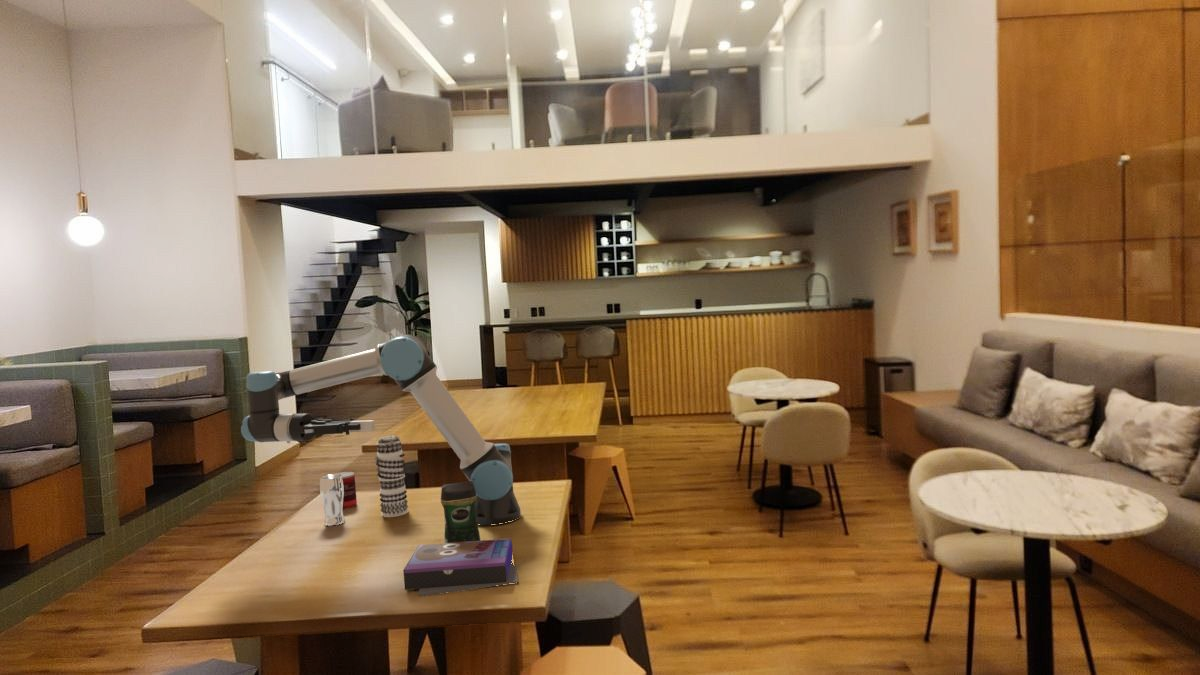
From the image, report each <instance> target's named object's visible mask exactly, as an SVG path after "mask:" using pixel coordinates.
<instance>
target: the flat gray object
mask: <svg viewBox="0 0 1200 675" xmlns="http://www.w3.org/2000/svg"><path fill="white" fill-rule="evenodd" d="M515 562H516V561H515ZM515 562H514V563H515ZM511 563H512V561H511ZM515 564H516V563H515ZM516 582H518V583H519V578H518V573H517V567H516V565H515V566H514V565H513V563H512V564H510V568H509V572H508V577H507V581H506V582H501V583H488V584H474V585H461V586H448V587H435V588H421V589H418V593H417V594H418V597H419V596H421V597H427V596H426V595H429V596H434V595H433V594H437V595H441V594H440V593H444V594H447V593H446V592H452V593H455V592H454V591H460V592H463V591H462V590H467V591H472V590H471V589H475V590H480V589H479V588H483V589H485V588H484V587H490V588H492V587H491V586H496V585H503V584H509V583H516Z"/></svg>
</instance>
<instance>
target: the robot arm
mask: <svg viewBox="0 0 1200 675" xmlns="http://www.w3.org/2000/svg"><path fill="white" fill-rule="evenodd" d="M437 370H438V366H437V364H436V363H435V361H434V360H433V359H432V357H431V356H430V355H429V354H428V348H427V346H426V343H425V342H424V341H423V340H422V339H421V338H420V337H418V336H416V335H413V334H402V335H398V336H397V335H396V336H395V337H393V338H391V339H389V340H388V341H386V342H382V343H378V344H377V346H376V347H375V348H373V349H369V350H365V351H361V352H356V353H353V354H349V355H345V356H340V357H337V358H333V359H329V360H325V361H322V362H317V363H314V364H310V365H305V366H301V367H298V368H293V369H290V370H285V371H281V372H275V371H273V370H262V371H260V370H259V371H254V372H250V373H248V374H247V375H246V386H245V387H246V391H247V399H248V410H249V415H247V416H245V417H244V418H243V420H242V422H241V423H242V425H241V426H240V432H241V436H242V438H244V439H245V440H246V441H248V442H256V443H257V442H258V443H273V442H274V443H275V442H277V443H278V442H286V444H291V442H309V441H311V440H313V438H314V437H315V436H318V435H319V436H321V435H324V436H325V435H336V434H337V435H338V434H340V435H341V434H344V433H345V436H348V435H350V432H351V433H353V432H357V433H358V432H361V433H363V432H375V431H376V424H375V420H371V419H367V420H365V419H364V420H356V419H355V418H354V417H351V418H349V419H348V418H335V417H333V418H330V419H327V418H325V419H324V418H315V417H314V416H313V415H312V414H311V413H306V412H305V413H280V405H279V401H280V400H282V399H287V398H290V397H294V396H297V395H301V394H305V393H309V392H313V391H317V390H321V389H326V388H329V387H333V386H336V385H340V384H344V383H349V382H353V381H357V380H361V379H365V378H368V377H372V376H373V377H374V376H377V375H380V374H383V375H385V376H388V377H389V378H392V379H393V380H394V381H395V383H396V384H397V385H398V387H399V388H400V389H401V390H402V392H407V393H410V394H412V396H413V397H414V399H415V400H416V402H417V403H418V405H419V406H420V407H421V409H422V410H423V411H424V413H425V414H426V415H427V416H428V418H429V419H430V421H431V422H432V424H434V426H435V427H436V428H437V430H438V431H439V432H440V435H442V436H443V438H444V440H446V442H447V443H448V445H449V447H450V448H452V450H453V452H454V453H455V454H456V456H457V457H458V458H459V459H460V464H459V468H460V470H461V471H462V473H463V475H464V476H465V477H466V479H468V481H472V482H473V484H474V487H475V491H476V496H477V497H476V502H475V512H476V519H477V524H480V525H479V526H482V525H491V524H499V523H505V522H508V521H512V520H515V519H517V518H519V517H520V515H521V507H520V505H519V501H518V500H517V497H516V494H515V493H514V474H513V473H514V472H513V468H512V451H511V447H510V444H508V443H494V442H489V441H485V439H484V438H483V437H482V435H481V434H480V432H479V431H478V429H477V428H476V427H475V425H474V424H473V423H472V422H471V420H470V419H469V418H468V416H467V414H466V413H465V412H464V411H463V409H462V408H461V407H460V406H459V404H458V402H457V401H456V399H455V398H454V397H453V396H452V394H451V393H450V392H449V390H448V389H447V388H446V387H447V386H445V385H444V383H443V382H442V381H441V379H440V378H439V377H438V375H437ZM520 518H521V517H520ZM520 518H519V519H520ZM517 520H518V519H517Z"/></svg>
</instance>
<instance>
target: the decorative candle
mask: <svg viewBox="0 0 1200 675" xmlns="http://www.w3.org/2000/svg"><path fill="white" fill-rule="evenodd" d="M402 441H403V440H402V439H400V437H399V436H397V435H386V436H383V437H380V438H379V439H378V441H377V442H376V443H375V444H376V448H377V449H376V450H377V452H376V454H377V455H376V457H375V461H376V463H375V465H376V466H377V468H376V472H377V476H378V481H379V483H380V487H379V490H380V491H379V492H380V493H379V497H380V498H379V501H380V502H381V503H380V505H379V506H380V507H381V508H380V512H381V517H383V516H384V517H383V518H395V517H400V516H404V515H406V514H408V512H409V510H408V509H409V508H408V507H409V506H408V499H407V498H408V495H407V490H406V484H405V477H406V474H405V473H406V471H405V470H404V468H405V467H406V464H404V463H405V461H406V460H405V459H403V457H405V455H406V454H405V453H403V449H402Z"/></svg>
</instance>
